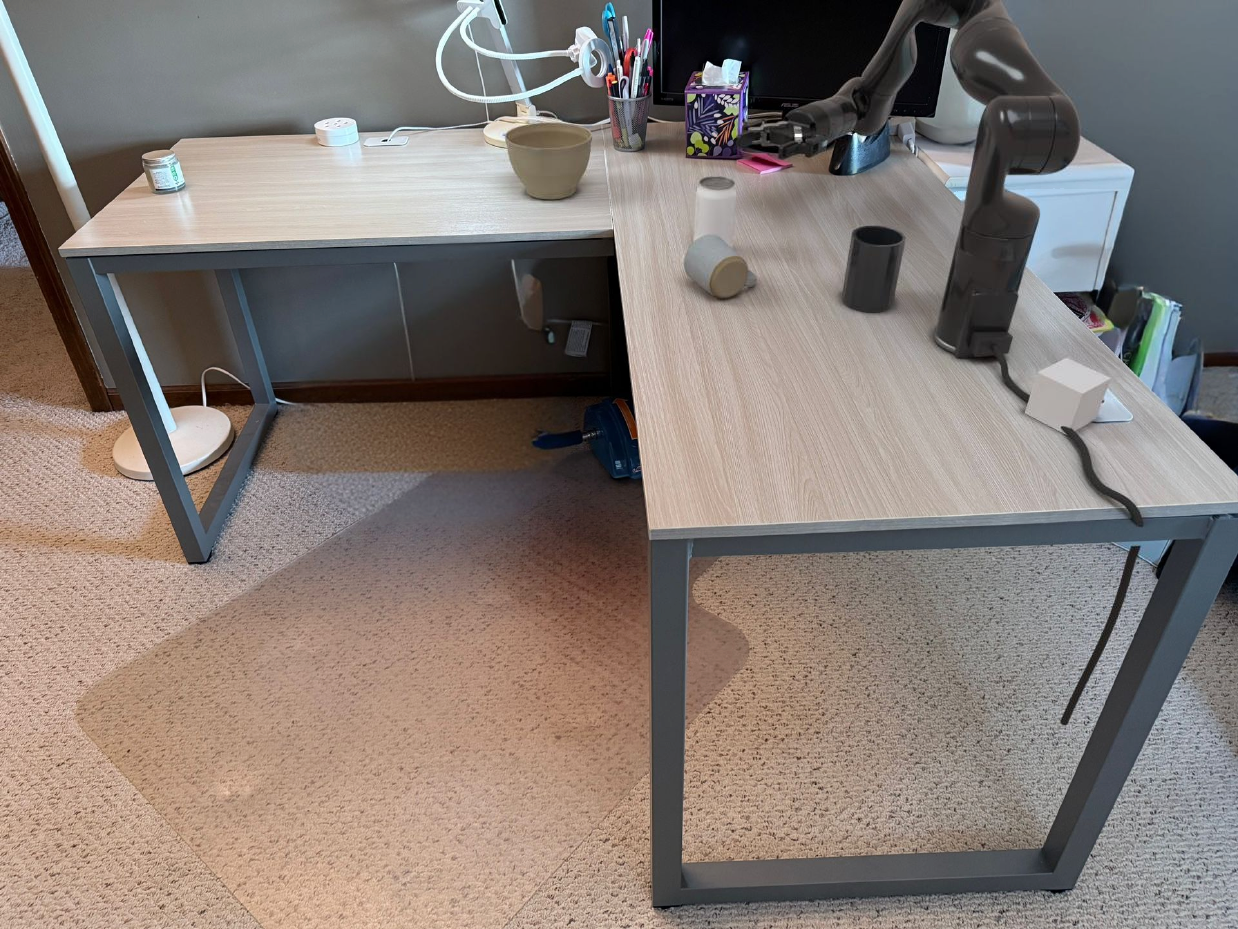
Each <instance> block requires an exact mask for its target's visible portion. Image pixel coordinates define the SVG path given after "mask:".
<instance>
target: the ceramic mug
mask: <svg viewBox="0 0 1238 929" xmlns="http://www.w3.org/2000/svg"><path fill="white" fill-rule="evenodd" d="M683 269H684V272H685V274H686V275H687V277H688V278H689V279H690V280H692V281H693V282H694V283H695V284H697V285H698V286H700V287H701V288H702V289H703V290H705V291H706V292H707V293H708V294H710V295H711V296H714V297H716V298H718V299H728V298H731V297H733V296H735V295H737V294H738V293H739V292H740V291H741V290H742V289H743V288H744V287H748V288H752V287H754V286H755V284H756V282H757V280H758V277H757V276H758V275H756V274H755V273H754V272H752V271H751V270H749V267H748V264H747V261H746V260H745V259H744V258H743V256H742V255H741V254H740V253H739V252H738V251H736V250H735V249H734V248H733V247H732V248H731V247H730V246H729V245H728V244H727V243H726V242H724V241H723V240H722V239H721V238H719V237H718V236H715V235H705V236H702V237H700V238H698V239H697V240H696V241H694V240H693V242H692V243H691V244H690V246H689V247H688V249H687V250H686V252H685V255H684V259H683Z"/></svg>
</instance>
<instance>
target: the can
mask: <svg viewBox="0 0 1238 929" xmlns="http://www.w3.org/2000/svg"><path fill="white" fill-rule="evenodd" d="M698 183H699V185H698V187H697V189H696V193H695V208H694V225H693V226H694V228H693V242H694V241H696V240H697V239H698V238H700V237H702V236H705V235H715V236H718V237H719V238H721V239H722V240H723V241H724V242H726V243H727V244H728V245H729V246H730V247H731V248H732V249H733V242H734V240H733V239H734V230H735V217H736V205H737V204H736V203H737V190H736V188H735V181H734V180H733V179H732V178H729V177H725V176H719V175H712V176H705V177H702V178H701V179H700V180H699V182H698Z"/></svg>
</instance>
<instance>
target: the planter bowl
mask: <svg viewBox="0 0 1238 929" xmlns="http://www.w3.org/2000/svg"><path fill="white" fill-rule="evenodd" d="M504 140H505V145H506V148H507V150H506V151H507V155H508V159H509V162H510V165H511V167H512V170H513V172H514V174H515V175H516V177H517V178H518V180H519V181H520V183H521V184H522V185H523V186H524V189H525V192H526V194H527V195H528V196H530V197H533V198H536V199H540V200H541V199H542V200H559V199H564V198H567V197H570V196H572V195H574V194H575V192H576V189H577V185H578V183H579V182H580V181H581V180H582V179H583V176H584V174H585V172H586V171H587V168H588V165H589V161H590V157H591V148H592V141H593V133H592V131H591V130H590V129H588V128H586V127H584V126H581V125H577V124H574V123H573V124H572V123H566V122H554V121H553V122H552V121H550V122H535V123H528V124H523V125H518V126H516V127H513V128H511V129H509V130H507V131H506V133H505V135H504Z"/></svg>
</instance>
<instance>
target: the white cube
mask: <svg viewBox="0 0 1238 929" xmlns="http://www.w3.org/2000/svg"><path fill="white" fill-rule="evenodd" d="M1111 380H1112V377H1109V376H1107V375H1105V374H1103V373H1101V372H1098V371H1097V370H1094V369H1092V368H1089V367H1088V366H1086V365H1083V364H1081V363H1079V362H1076V361H1074V360H1072V359H1070V358H1068V357H1065V358H1062V359H1061V360H1059V361H1057V362H1055V363H1053V364H1051V365H1049V366H1047V367H1045V368H1044V369H1041V370H1040V371H1038V372H1036V376H1035V380H1034V382H1033V386H1032V389H1031V392H1030V394H1029V395H1030V398H1029V401H1028V402H1027V404H1026V407H1025V411H1024V414H1025V415H1027V416H1029V417H1031V418H1033V419H1034V420H1037V421H1039V422H1040V423H1042V424H1045V425H1046V426H1048V427H1050V428H1052V429H1054V430H1055V431H1058V432H1060V433H1062V434H1064V435H1065V436H1068V435H1067V434H1066V433H1065V432H1064V431H1063V430H1062V429H1061V428H1060V427H1061V426H1066V427H1068V428H1072V429H1073V430H1074V431H1075V432H1077V430H1078V431H1079V429H1081V428H1083V427H1085V426H1086V425H1088V424H1090V423H1092V422H1094V421H1095V420H1096V419H1097V417H1098V414H1099V411H1100V409H1101V406H1102V404H1103V401H1104V398H1105V395H1106V393H1107V391H1108V388H1109V385H1110V382H1111Z"/></svg>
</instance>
